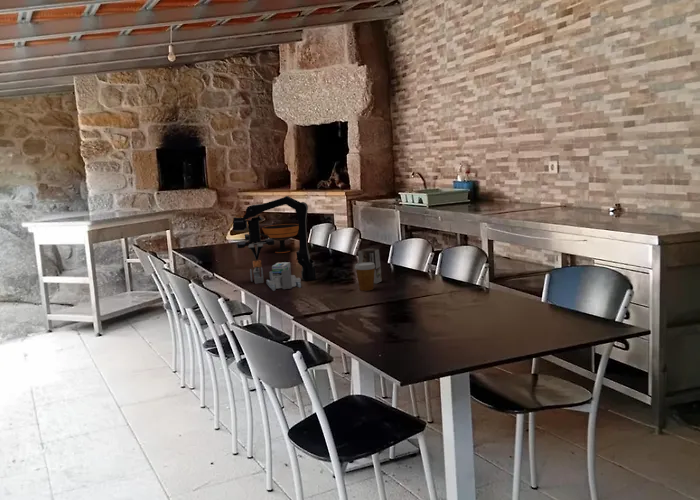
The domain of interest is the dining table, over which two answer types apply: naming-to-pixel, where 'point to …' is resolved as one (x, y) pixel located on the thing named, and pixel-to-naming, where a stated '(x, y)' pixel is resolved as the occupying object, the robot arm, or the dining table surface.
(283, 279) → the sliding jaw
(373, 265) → the disposable coffee cup
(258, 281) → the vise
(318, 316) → the dining table surface
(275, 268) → the light bulb box
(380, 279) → the coffee box
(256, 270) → the lever
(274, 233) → the cup
